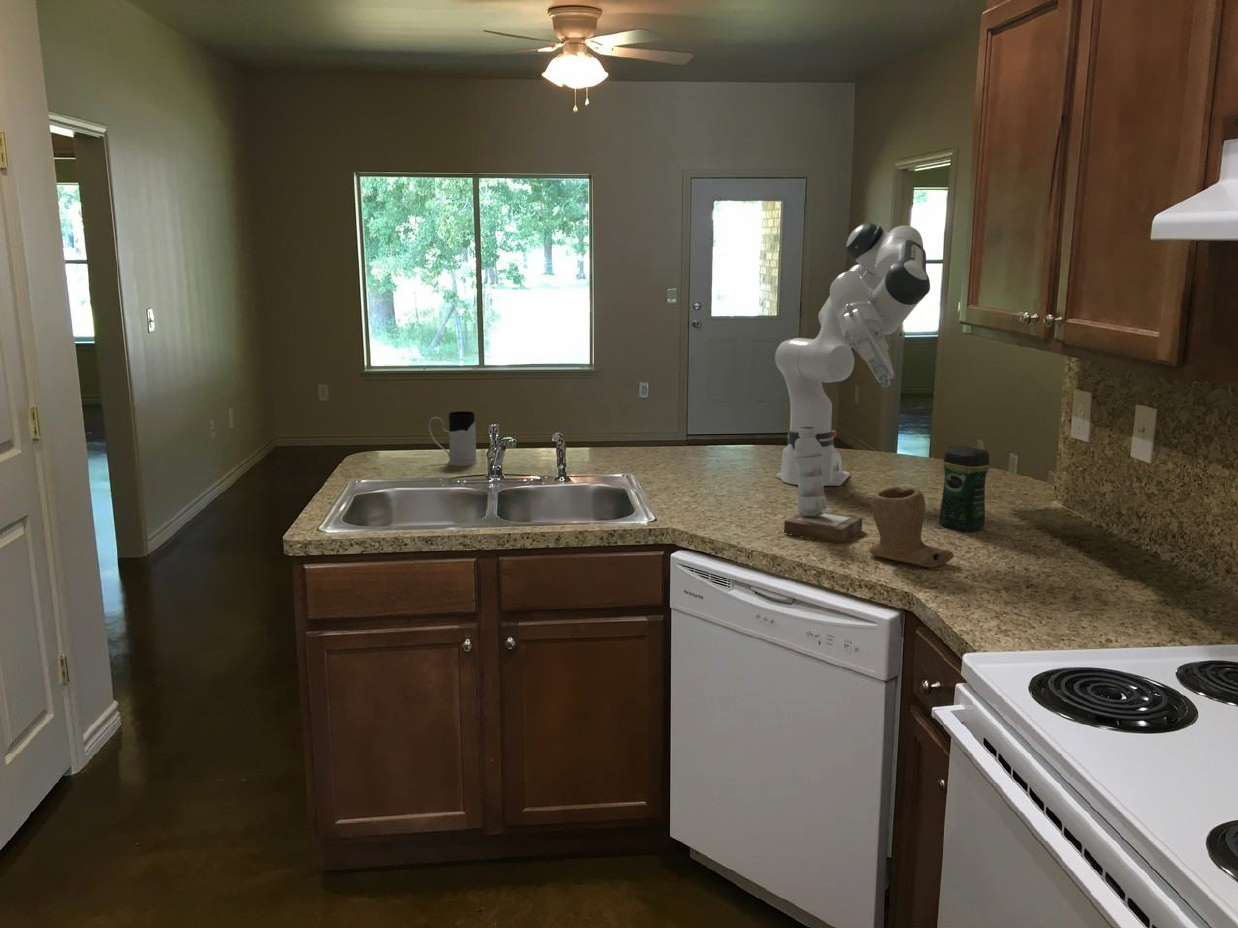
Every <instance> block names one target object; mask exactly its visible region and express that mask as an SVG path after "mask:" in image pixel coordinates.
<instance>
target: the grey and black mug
mask: <svg viewBox="0 0 1238 928" xmlns="http://www.w3.org/2000/svg"><path fill="white" fill-rule="evenodd" d="M475 416H476V415H475V412H473V411H464V410H463V411H462V410H460V411H451V412H448V427H449V428H448V429H449V430H446V428H445V423H444V421H443V419H442V418H440V417H438V416H434V417H432V418H430V420H429V423H428V431H429V433H430V436H431V439H432V440H433V442H434V443H435V444H436V445H437V446H438V447H439V448H441V449H442V450H443V451H444V452H446V453H447V455H448V458H449V460H448V462H447V463H448V465H451V466H457V467H458V466H459V467H461V466H462V467H464V466H465V467H467V466H473V465H477V464H478V463H479V462H478V460H477V445H476V443H477V442H476V440H477V439H476V438H477V437H476V436H477V435H476V434H477V433H476V420H475ZM435 419H438V420H439V421H440V422H441V424H442V430H443V431H444V432H446V433H448V448H449V450H447V449H446V448H444V447H443V446H442V445H440V444H439V442H438V441H437V440H436V439H435V437H434V436H433V433H432V429H431V422H432V420H435Z"/></svg>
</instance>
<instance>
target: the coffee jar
mask: <svg viewBox="0 0 1238 928" xmlns="http://www.w3.org/2000/svg"><path fill="white" fill-rule="evenodd" d="M942 464H943V468H944V483H943V490H942V499H941V504H940V510H939V515H938V516H939V517H938V522H939V524H940V525H942V526H944V527H947V528H950V529H955V530H958V531H973V532H976V531H979V530H981V529H983V528H984V527H985V526H986V525H985V524H986V523H985V522H986V521H985V520H986V502H985V501H986V499H985V498H986V497H985V495H986V494H985V493H986V491H985V489H986V477H987V474H988V472H989V468H990V454H989V452H988V451H987V449H981V448H977V447H971V446H966V445H951V446H948V447H946V449H945V452H944V456H943V460H942Z"/></svg>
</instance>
